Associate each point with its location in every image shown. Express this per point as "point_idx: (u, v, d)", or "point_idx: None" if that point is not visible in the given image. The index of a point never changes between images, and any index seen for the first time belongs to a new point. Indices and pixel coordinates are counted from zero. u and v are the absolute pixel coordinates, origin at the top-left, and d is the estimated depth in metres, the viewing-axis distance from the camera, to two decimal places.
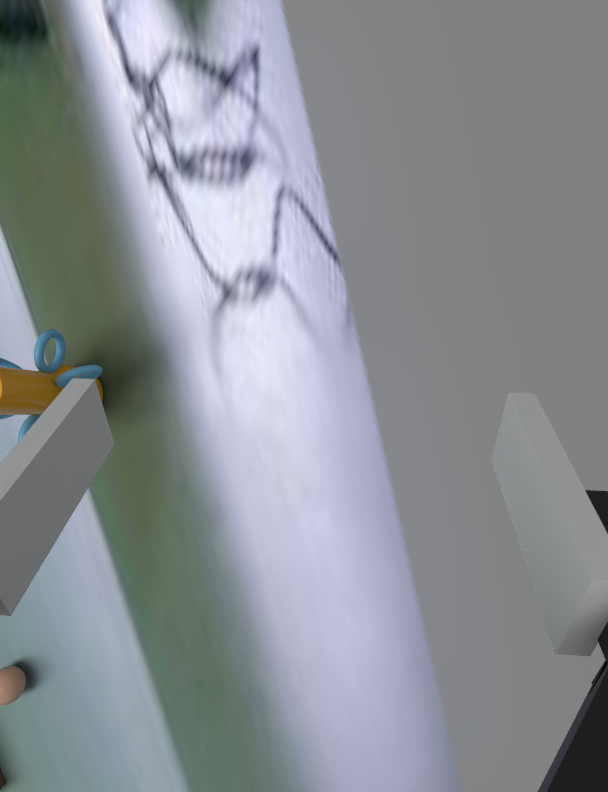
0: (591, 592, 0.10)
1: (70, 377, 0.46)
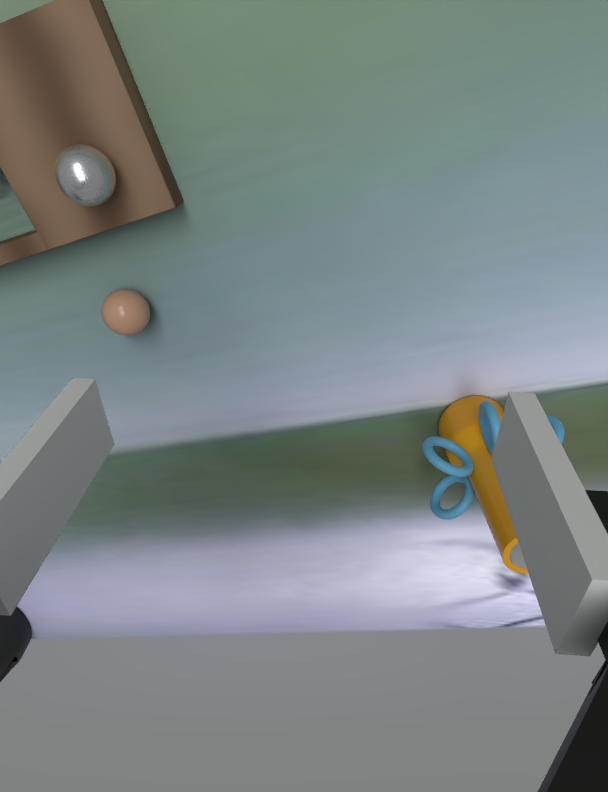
0: (591, 592, 0.10)
1: None
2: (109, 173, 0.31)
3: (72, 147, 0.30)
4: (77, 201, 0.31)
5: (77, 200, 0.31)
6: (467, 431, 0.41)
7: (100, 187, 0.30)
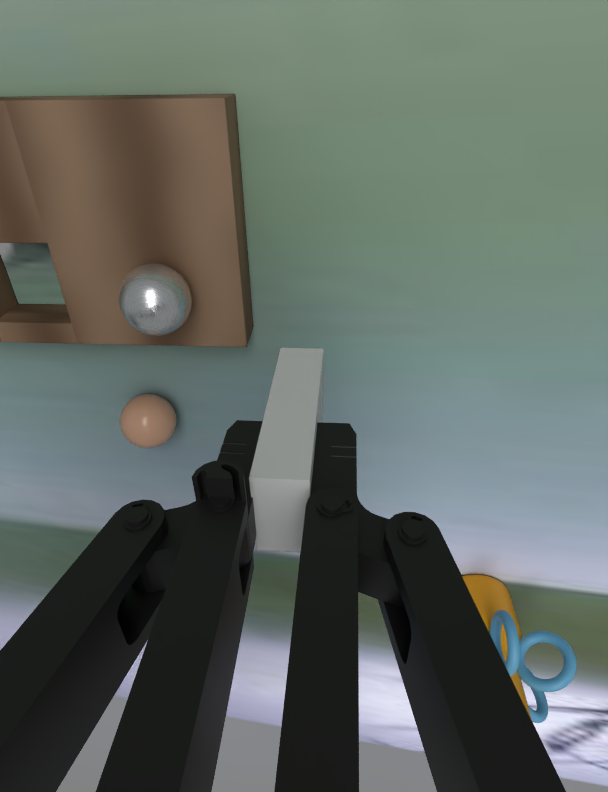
0: (284, 491, 0.13)
1: None
2: (186, 309, 0.25)
3: (151, 272, 0.24)
4: (138, 330, 0.25)
5: (138, 330, 0.25)
6: None
7: (171, 325, 0.25)
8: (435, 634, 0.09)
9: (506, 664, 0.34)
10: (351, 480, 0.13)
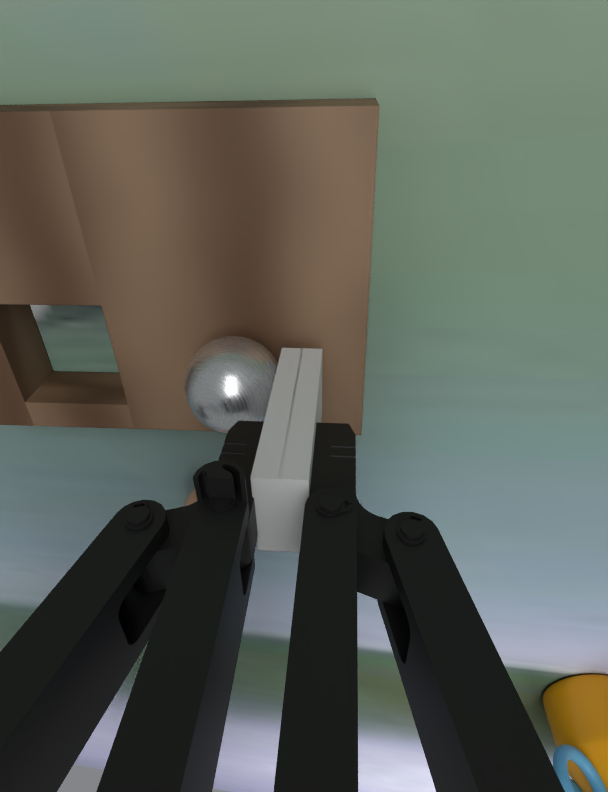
0: (283, 491, 0.13)
1: None
2: None
3: (227, 353, 0.17)
4: None
5: (202, 422, 0.18)
6: (606, 747, 0.31)
7: None
8: (434, 634, 0.09)
9: None
10: (350, 480, 0.13)
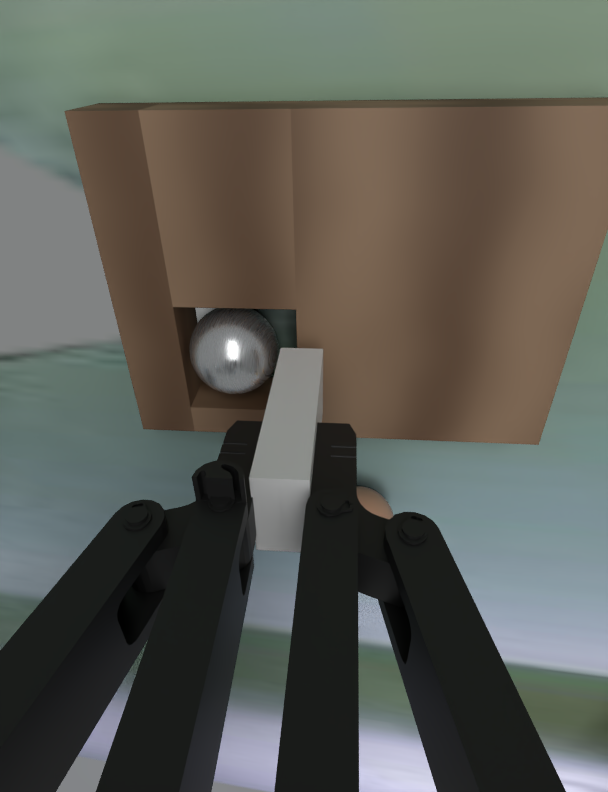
0: (284, 491, 0.13)
1: None
2: None
3: (246, 311, 0.19)
4: (255, 387, 0.20)
5: (256, 386, 0.20)
6: None
7: None
8: (435, 634, 0.09)
9: None
10: (351, 480, 0.13)
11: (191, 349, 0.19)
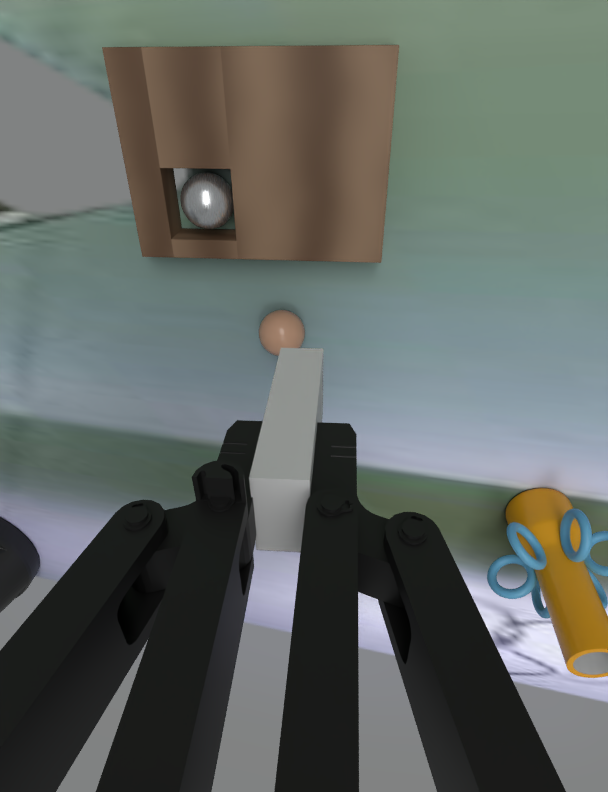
0: (284, 491, 0.13)
1: (546, 612, 0.44)
2: None
3: (213, 173, 0.33)
4: (226, 221, 0.34)
5: (226, 220, 0.34)
6: (545, 525, 0.44)
7: None
8: (435, 634, 0.09)
9: (579, 549, 0.40)
10: (351, 480, 0.13)
11: (186, 198, 0.32)
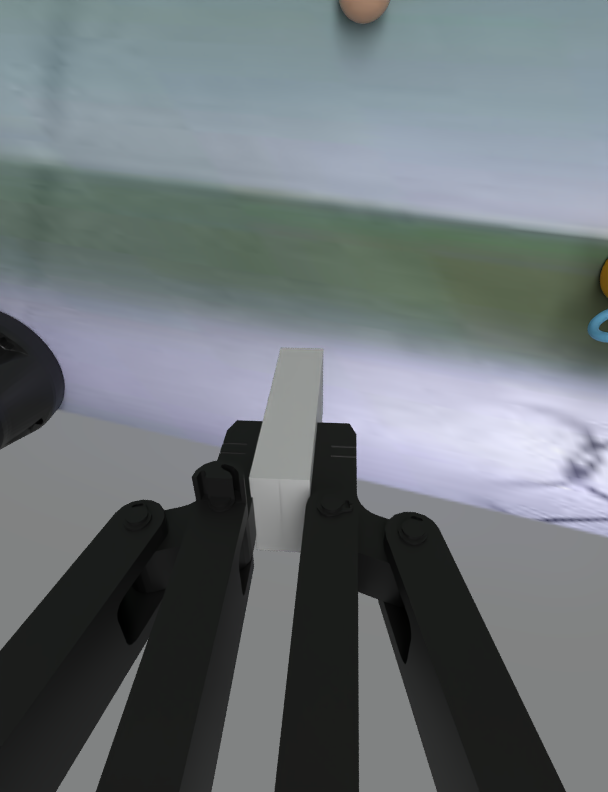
0: (284, 491, 0.13)
1: None
2: None
3: None
4: None
5: None
6: None
7: None
8: (435, 634, 0.09)
9: None
10: (351, 480, 0.13)
11: None
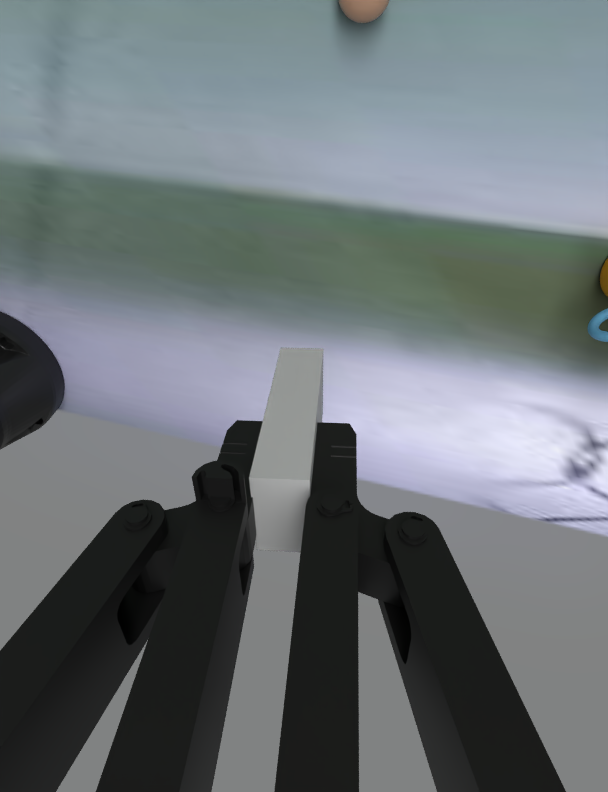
0: (284, 491, 0.13)
1: None
2: None
3: None
4: None
5: None
6: None
7: None
8: (435, 634, 0.09)
9: None
10: (351, 480, 0.13)
11: None
